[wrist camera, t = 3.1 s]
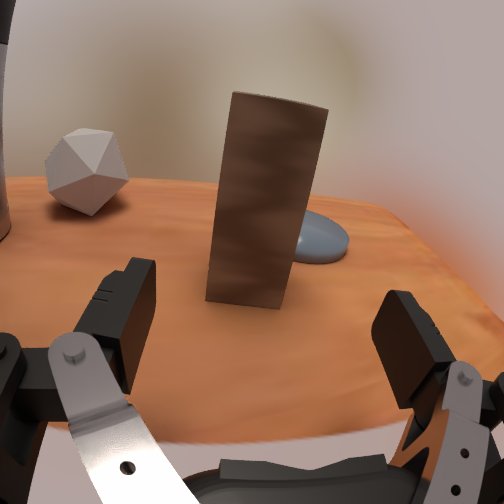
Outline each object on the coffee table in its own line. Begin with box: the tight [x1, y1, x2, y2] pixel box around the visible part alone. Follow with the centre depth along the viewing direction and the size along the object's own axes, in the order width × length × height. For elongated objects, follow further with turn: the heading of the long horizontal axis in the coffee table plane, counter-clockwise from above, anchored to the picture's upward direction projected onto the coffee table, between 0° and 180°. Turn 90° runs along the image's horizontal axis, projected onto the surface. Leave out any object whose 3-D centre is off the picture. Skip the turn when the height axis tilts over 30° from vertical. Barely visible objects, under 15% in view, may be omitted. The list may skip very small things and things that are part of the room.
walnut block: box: [205, 91, 328, 309], centre depth 20 cm, size 5×5×13 cm
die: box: [45, 128, 129, 216], centre depth 29 cm, size 8×9×10 cm
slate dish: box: [293, 210, 349, 264], centre depth 31 cm, size 10×10×1 cm
